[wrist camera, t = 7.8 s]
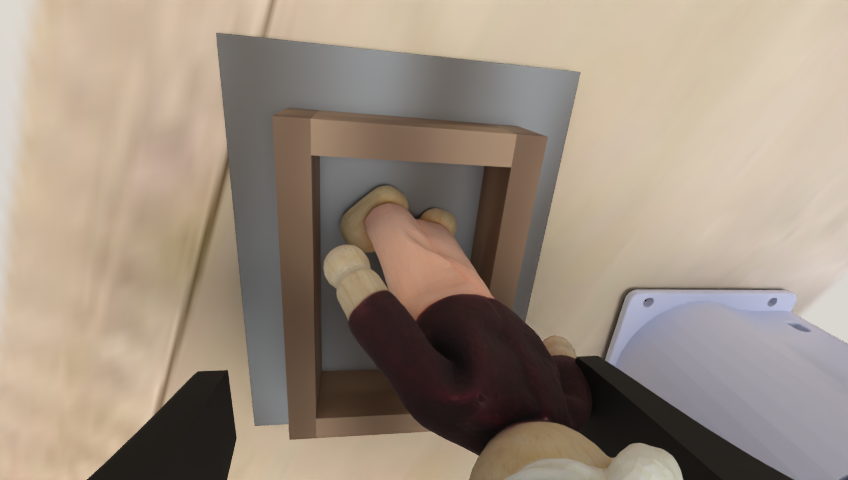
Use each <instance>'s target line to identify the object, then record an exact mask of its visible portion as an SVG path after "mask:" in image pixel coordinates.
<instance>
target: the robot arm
mask: <svg viewBox="0 0 848 480" xmlns="http://www.w3.org/2000/svg"><path fill="white" fill-rule="evenodd" d="M647 298H648V299H647ZM646 299H647V301H645V300H646ZM644 301H645V302H644ZM796 301H797V296H796V295H795V294H794V293H792V292H790V291H788V290H633V291H631V292H630V293H628V294H627V296H626V298H625V300H624V303H623V306H622V309H621V312H620V315H619V319H618V322H617V325H616V328H615V331H614V334H613V337H612V340H611V343H610V346H609V349H608V352H607V355H606V358H605V360H604V359H602V358H600V357H599V356H584V357H576V360H575V362H576V364H577V365H578V366H579V367H580V369H581V370H582V372H583V374H584V376H585V378H586V380H587V382H588V384H589V387H590V390H591V394H592V401H593V405H592V410H591V414H590V417H589V419H588V421H587V423H586V425H585V427H584V428H583V429H582V431H581V432H580V434H582V435H583V436H585V437H586V438H587V439H589V440H590V441H592V442H593V443H594V444H596V445H597V446H598V447H599V448H600V449H601V450H602V451H603V452H604V453H605V454H606V455H607V456H608V457H610V458H615V457H616V456H617V455H618V454H619V453H620V452H621V451H622V450H624V449H625V448H626V447H627V446H629V445H630V444H634V443H643V444H646V445H649V446H652V447H656V448H661V449H663V450H665V451H666V452H668V453H669V454H671V455H672V456H673V457H674V459H675V460H676V461H677V463H678V466H679V468H680V470H681V473H682V477H683V480H848V344H847V343H845V342H844V341H842V340H840V339H838V338H836V337H835V336H833V335H831V334H829V333H827V332H826V331H824V330H822V329H820V328H819V327H817V326H815V325H813V324H811V323H810V322H808V321H806V320H804V319H802V318H801V317H799V316H797V315H795V314H794V313H792V312H791V311H792V309H793V307H794V305H795V303H796ZM235 442H236V430H235V423H234V415H233V407H232V399H231V392H230V384H229V376H228V370H224V371H199V372H197V373H196V374H194V375H193V376H192V377H191V378H190V379H189V380H188V381H187V382H186V383H185V384H184V385H183V386H182V387H181V388H180V389H179V390H178V391H177V392H176V393H175V395H174V396H173V397H172V398H171V399H170V400H169V401H168V402H167V403H166V404H165V405H164V406H163V407H162V408H161V409H160V410H159V411H158V412H157V413H156V414H155V415H154V416H153V417H152V418H151V419H150V420H149V421H148V422H147V423H146V424H145V425H144V426H143V427H142V428H141V429H140V430H139V431H138V432H137V433H136V434H135V435H134V436H133V437H132V438H131V439H129V440H128V441H127V442H126V443H125V444H124V445H123V446H122V447H121V448H120V449H119V450H118V451H117V452H116V453H115V454H114V455H113V456H112V457H111V458H110V459H109V460H108V461H107V462H106V463H105V464H104V465H102V466H101V467H100V468H99V469H98V470H97V471H96V472H95V473H94V474H93V475H91V476H90V477H89V478H88V479H87V480H227V477H228V473H229V469H230V465H231V460H232V456H233V451H234V447H235Z"/></svg>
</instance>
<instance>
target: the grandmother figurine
mask: <svg viewBox="0 0 848 480" xmlns="http://www.w3.org/2000/svg"><path fill="white" fill-rule="evenodd" d="M408 208H409V204H408V201H407V199H406V196H405V195H404V194H403V193H401V192H400V191H399V190H398V189H396V188H395V187H392V186H389V185H386V186H380V187H377V188H376V189H374V190H373V191H371V192H370V193H369V194H368V195H366V196H365V197H364V198H363V199H361V200H360V201H359V202H358V203H356V204H355V205H354V206H353V207H352V208H350V209H349V210H348V211H347V212H346V213H345V214H344V216H343V217H342V220H341V223H340V230H341V234H342V236H343V238H344V240H345V241H346V242H347V243H348V244H349V245H340V246H338V247H336V248H334V249H333V250H331V251H330V252H329V253H328V254H327V256H326V258H325V260H324V267H323V269H324V274H325V277H326V279H327V280H328V282H329V284H331V285H332V286H333V287H335V288H336V289H337V292H336V293H337V299H338V301H339V303H340V305H341V307H342V309H343V311H344V312H345V314H346V316H347V319H348V326H349V329H350V331H351V333H352V334H353V336H354V337H355V339H356V340H357V342H358V343H359V344H360V346H361V347H362V348H363V350H364V351H365V352H366V354H367V355H368V356H369V357H370V358H371V359H372V361H373V362H374V363H375V365H376V366H377V368H378V369H379V370H380V371H381V372H382V373H383V375H384V376H385V377H386V379H387V380H388V381H389V383H390V384H391V386H392V387H393V389H394V391H395V393H396V394H397V396H398V398H399V399H400V401H401V402H402V404H403V405H404V407H405V408H406V410H407V411H408V412H409V413H410V414H411V415H412V417H413V418H414V419H415V420H416V421H417V422H418V423H419V424H420V425H421V426H423V427H424V428H426V429H428V430H430V431H432V432H434V433H436V434H437V435H439V436H441V437H443V438H445V439H447V440H449V441H451V442H453V443H456V444H458V445H460V446H462V447H464V448H466V449H468V450H470V451H471V452H473V453H475V454H477V455H479V457H478V459H477V461H476V463H475V465H474V467H473V469H472V472H471V475H470V479H469V480H683V477H682V473H681V470H680V468H679V466H678V463H677V461H676V460H675V459H674V457H673V456H672V455H671V454H669V453H668V452H666V451H665V450H663V449H661V448H656V447H652V446H649V445H646V444H643V443H634V444H630V445H629V446H627V447H626V448H625V449H624V450H622V451H621V452H620V453H619V454H618V455H617V456H616V457H615V458H610V457H608V456H607V455H606V454H605V453H604V452H603V451H602V450H601V449H600V448H599V447H598V446H597V445H596V444H594V443H593V442H592V441H590V440H589V439H587V438H586V437H585V436H583V435H582V434H580V432H581V431H582V429H583V428H584V427H585V425H586V423H587V421H588V419H589V417H590V414H591V410H592V405H593V401H592V394H591V390H590V387H589V384H588V382H587V380H586V378H585V376H584V374H583V372H582V370H581V369H580V367H579V366H578V365H577V364H576V362H575V360H576V357H577V356H576V355H575V351H574V348H573V346H572V345H571V343H570V342H569V341H567V340H566V339H565V338H562V337H559V336H551V337H549V338H547V339H545V340H544V341H543V342H542V340H541V339H540V337H539V336H538V335H537V334H536V333H535V331H534V330H533V329H531V328H530V327H529V326H528V325H527V324H526V323H525V322H524V321H523V320H522V319H521V318H520V317H519V316H518V315H517V314H516V313H515V312H513V311H512V310H511V309H509V308H508V307H507V306H506V305H504V304H503V303H501V302H500V301H498V300H497V299H495V298H494V297H493V296H492V295H491V293H490V291H489V290H488V288H487V286H486V285H485V283H484V282H483V280H482V279H481V278H480V277H479V275H478V273H477V272H476V270H475V268H474V267H473V265H472V264H471V262H470V261H469V259H468V258H467V256H466V255H465V254H464V252H463V250H462V249H461V247H460V245H459V244H458V242H457V241H456V239H455V238H454V236H455V233H456V229H457V220H456V218H455V217H454V215H453V214H451V213H450V212H448V211H446V210H443V209H439V208H433V209H429V210H427V211H425V212H424V213H423V214H422V215H421V217H420V218H419V219H414V217H413V216H412V215H411V214H410V212H409V211H408ZM364 252H376V254H377V256H378V259H379V261H380V264H381V267H382V270H383V273H384V276H385V280H386V283H387V286H388V288H387V287H386V285H385V284H384V282H383V281H382V279H381V278H380V276H379V275H378V274H377V273H376V272H374V271H373V270H371V268H370V263H369V260H368V258H367V256H366V255H365V253H364ZM388 289H389V290H388Z"/></svg>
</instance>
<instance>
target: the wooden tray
mask: <svg viewBox="0 0 848 480" xmlns="http://www.w3.org/2000/svg"><path fill="white" fill-rule="evenodd" d="M216 36H217V46H218V56H219V67H220V77H221V87H222V97H223V107H224V118H225V128H226V138H227V148H228V158H229V168H230V179H231V189H232V199H233V209H234V219H235V230H236V240H237V250H238V260H239V270H240V281H241V291H242V301H243V311H244V321H245V332H246V342H247V352H248V362H249V372H250V382H251V393H252V403H253V413H254V423H255V426H260V425H280V424H289V438H290V440H291V439H308V438H325V437H343V436H360V435H377V434H394V433H411V432H428V431H430V430H428V429H426V428H424V427H423V426H421V425H420V424H419V423H418V422H417V421H416V420H415V419H414V418H413V417H412V415H411V414H410V413H409V412H408V411H407V410H406V408H405V407H404V405H403V404H402V402H401V401H400V399H399V398H398V396H397V394H396V393H395V391H394V389H393V387H392V386H391V384H390V383H389V381H388V380H387V379H386V377H385V376H384V375H383V373H382V372H381V371H380V370H379V369H378V368H377V366H376V365H375V363H374V362H373V361H372V359H371V358H370V357H369V356H368V355H367V354H366V352H365V351H364V350H363V348H362V347H361V346H360V344H359V343H358V342H357V340H356V339H355V337H354V336H353V334H352V333H351V331H350V329H349V326H348V319H347V316H346V314H345V312H344V311H343V309H342V307H341V305H340V303H339V301H338V299H337V293H336V292H337V289H336V288H335V287H333V286H332V285H331V284H329V282H328V280H327V279H326V277H325V274H324V269H323V267H324V260H325V258H326V256H327V254H328V253H329V252H330V251H331V250H333V249H334V248H336V247H338V246H340V245H349V244H348V243H347V242H346V241H345V240H344V238H343V236H342V234H341V230H340V223H341V220H342V217H343V216H344V214H345V213H346V212H347V211H348V210H349V209H350V208H352V207H353V206H354V205H355V204H356V203H358V202H359V201H360V200H361V199H363V198H364V197H365V196H366V195H368V194H369V193H370V192H371V191H373V190H374V189H376V188H377V187H380V186H386V185H389V186H392V187H395V188H396V189H398V190H399V191H400V192H401V193H403V194H404V195H405V196H406V199H407V201H408V204H409V208H408V211H409V212H410V214H411V215H412V216H413V217H414V219H419V218H420V217H421V215H422V214H423V213H424V212H425V211H427V210H429V209H433V208H439V209H443V210H446V211H448V212H450V213H451V214H453V215H454V217H455V218H456V220H457V229H456V233H455V236H454V238H455V239H456V241H457V242H458V244H459V245H460V247H461V249H462V250H463V252H464V254H465V255H466V256H467V258H468V259H469V261H470V262H471V264H472V265H473V267H474V268H475V270H476V272H477V273H478V275H479V277H480V278H481V279H482V280H483V282H484V283H485V285H486V286H487V288H488V290H489V291H490V293H491V295H492V296H493V297H494V298H495V299H497V300H498V301H500V302H501V303H503V304H504V305H506V306H507V307H508V308H509V309H511V310H512V311H513V312H515V313H516V314H517V315H518V316H519V317H520V318H521V319H522V320H523V321H524V322H525V319H526V315H527V310H528V306H529V301H530V297H531V292H532V288H533V283H534V279H535V274H536V270H537V265H538V261H539V256H540V252H541V247H542V243H543V238H544V234H545V229H546V225H547V220H548V216H549V211H550V207H551V202H552V198H553V193H554V189H555V184H556V180H557V175H558V171H559V166H560V162H561V158H562V153H563V149H564V144H565V140H566V135H567V131H568V126H569V122H570V117H571V113H572V108H573V104H574V99H575V95H576V90H577V86H578V81H579V77H580V72H576V71H567V70H557V69H548V68H539V67H529V66H520V65H511V64H502V63H492V62H483V61H474V60H464V59H455V58H446V57H437V56H427V55H418V54H409V53H399V52H390V51H381V50H372V49H362V48H353V47H344V46H334V45H325V44H316V43H307V42H297V41H288V40H279V39H269V38H260V37H251V36H242V35H232V34H223V33H216ZM364 253H365V255H366V256H367V258H368V260H369V263H370V268H371V270H373V271H374V272H376V273H377V274H378V275H379V276H380V278H381V279H382V281H383V282H384V284H385V285H386V287H387V288H388V286H387V283H386V280H385V276H384V273H383V270H382V267H381V264H380V261H379V259H378V256H377V254H376V252H364ZM388 290H389V289H388Z"/></svg>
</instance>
